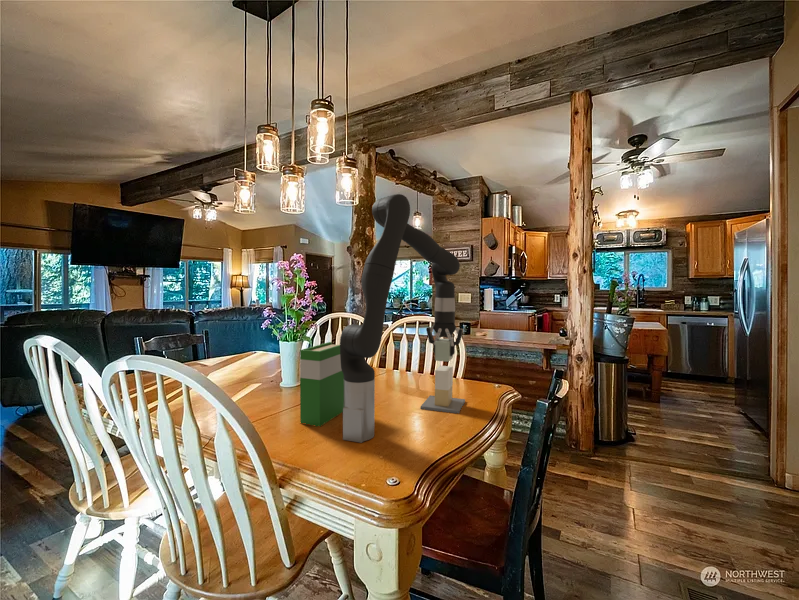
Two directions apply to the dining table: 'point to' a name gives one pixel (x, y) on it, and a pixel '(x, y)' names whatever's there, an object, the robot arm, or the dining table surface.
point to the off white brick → (443, 377)
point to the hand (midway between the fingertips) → (444, 355)
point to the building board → (441, 408)
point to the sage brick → (442, 350)
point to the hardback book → (321, 384)
